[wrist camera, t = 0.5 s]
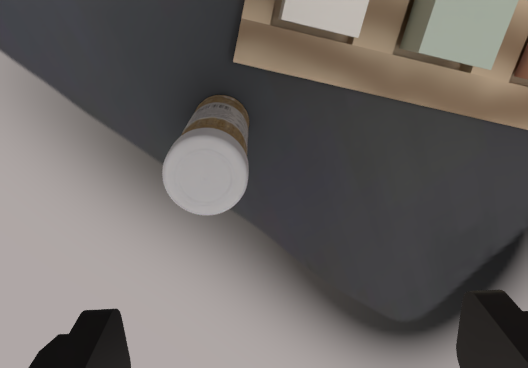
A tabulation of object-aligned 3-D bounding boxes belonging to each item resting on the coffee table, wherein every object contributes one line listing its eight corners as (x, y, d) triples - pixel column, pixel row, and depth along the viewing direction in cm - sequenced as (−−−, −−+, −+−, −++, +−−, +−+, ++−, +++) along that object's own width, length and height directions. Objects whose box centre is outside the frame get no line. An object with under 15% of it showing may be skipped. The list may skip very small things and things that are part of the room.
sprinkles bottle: (189, 142, 36) (154, 209, 23) (198, 87, 34) (166, 127, 22) (244, 153, 36) (239, 225, 24) (255, 99, 35) (256, 146, 22)
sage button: (422, -27, 30) (446, -33, 26) (490, -9, 31) (523, -12, 27) (399, 48, 32) (418, 52, 28) (463, 64, 32) (491, 70, 29)
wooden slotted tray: (269, -121, 30) (270, -133, 27) (640, -20, 32) (670, -23, 30) (234, 58, 34) (233, 62, 31) (566, 135, 36) (587, 143, 34)
